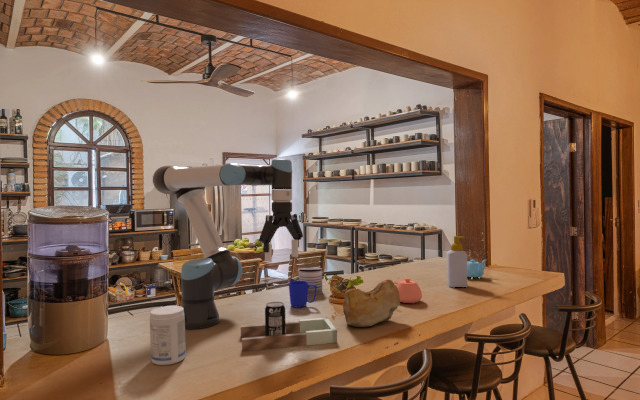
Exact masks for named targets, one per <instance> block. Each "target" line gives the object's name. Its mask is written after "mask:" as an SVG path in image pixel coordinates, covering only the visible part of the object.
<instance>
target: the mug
mask: <svg viewBox="0 0 640 400" xmlns="http://www.w3.org/2000/svg"><path fill="white" fill-rule="evenodd" d="M310 286H313V287H315V294H314V295H313V299H312V300H309V298H308V297H309V295H308V288H309V287H310ZM288 291H289V303H290V305H291V307H293V308H303V307H306V306H307V304H308V303H309V304H312V303H315V301H316V297H317V294H316V291H317V285H310V284H308V282H306V281H299V280H292V281H289V282H288Z"/></svg>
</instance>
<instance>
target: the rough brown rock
mask: <svg viewBox="0 0 640 400" xmlns="http://www.w3.org/2000/svg"><path fill="white" fill-rule="evenodd" d="M393 282H394V281H393V280H391V279H386V280H382V281H381V282H379V283H378V284H377V285H376V286H375V287H374V288H373V289H372V290H368V291H364V290H361V289H360V288H351V289H350V288H349V289H347V290H345V292H344V299H343V304H342V309H343V315H344V319H345V321H346V324H347V325H349V326H351V327H355V328H361V327H363V328H364V327H371V326H374V325H377V324H379V323H382V322H387V321H389V320H391V318H392V316H393V314H394V312H395V311H396V310H397V309H398V307H399V306H400V305H401V303H400V295H399V291H398V288H397V287H396V286H397V284H396V285H395V284H394V283H393Z"/></svg>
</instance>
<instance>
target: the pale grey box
mask: <svg viewBox="0 0 640 400" xmlns="http://www.w3.org/2000/svg"><path fill="white" fill-rule="evenodd" d="M298 321H299V322H300V333H306V340H307V345H306V346H312V345H313V346H314V345H324V344H325V345H326V344H333V343H338V329H337V328H336V327H335V325H333V323H332V322H331V320H330V319H329V318H328V317H320V318H319V317H317V318H307V319H305V318H304V319H299V320H298Z"/></svg>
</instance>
